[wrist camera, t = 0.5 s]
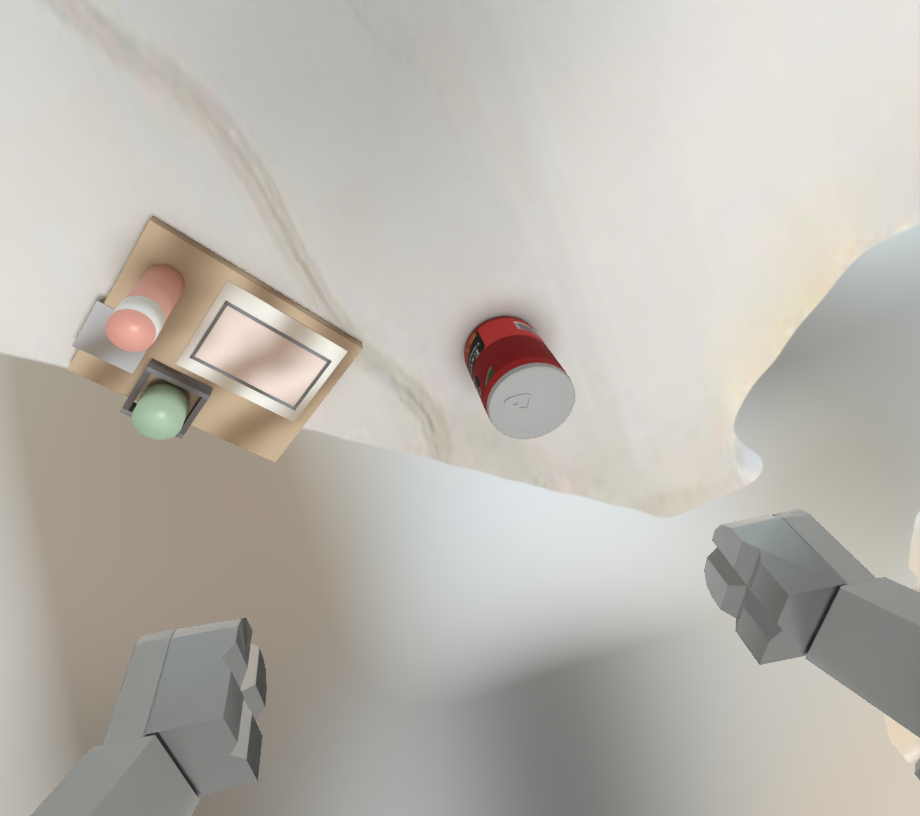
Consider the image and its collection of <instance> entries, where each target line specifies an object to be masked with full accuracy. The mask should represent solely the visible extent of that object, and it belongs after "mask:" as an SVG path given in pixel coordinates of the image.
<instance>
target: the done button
mask: <svg viewBox="0 0 920 816" xmlns="http://www.w3.org/2000/svg"><path fill="white" fill-rule="evenodd" d="M188 410H189V400H188V397H187V396H186V394H185V393H184V392H183V391H182V390H180V389H179V388H177V387H175V386H173V385H169V384H155V385H152V386H150V387H148V388H147V389H146V390H145V391H144V392H143V394H142V396H141V397H140V399H139V401H138V403H137V405H136V407H135V409H134V411H133V413H132V417H131V418H132V423H133V425H134V427H135V428H136V430H137V431H138V432H140V433H141V434H142V435H144V436H146V437H149V438H152V439H159V440H162V439H169V438H172V437H174V436H175V435H177V434H178V433H179V432H180V430H181V428H182V426H183V423H184V420H185V418H186V415H187V413H188Z"/></svg>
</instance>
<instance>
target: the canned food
mask: <svg viewBox="0 0 920 816" xmlns="http://www.w3.org/2000/svg"><path fill="white" fill-rule="evenodd" d="M465 361H466V365H467V368H468V370H469V373H470V375H471V377H472V380H473V382H474V384H475V387H476V389H477V392H478V394H479V396H480V399H481V401H482V403H483V406H484V408H485V410H486V412H487V414H488V417H489V419H490V420H491V422H492V423H493V425H494V426H495V428H496V429H497V430H498V431H500V432H501V433H503V434H504V435H506V436H509V437H511V438H516V439H531V438H537V437H540V436H543V435H545V434H548V433H550V432H551V431H553V430H555V429H556V428H558V427H559V426H560V425H561V424H562V423H563V422H564V421H565V420H566V419H567V417H568V416H569V414H570V413H571V411H572V409H573V406H574V403H575V390H574V386H573V384H572V382H571V380H570V378H569V376H568V375H567V374H566V372H565V371H564V369H563V368H562V367H561V365H560V364H559V362H558V361H557V360H556V358H555V357H554V356H553V354H552V353H551V352H550V350H549V349H548V348H547V346H546V345H545V344H544V342H543V341H542V340H541V338H540V337H539V336H538V334H537V333H536V331H535V330H534V329H533V328H532V327H531V326H530V325H529V324H528V323H526V322H524V321H522V320H519V319H516V318H512V317H498V318H494V319H491V320H489V321H487V322H485V323H483V324H482V325H480V326H479V327H478V328H477V329H476V330H475V331H474V332H473V333H472V335H471V336H470V337H469V340H468V342H467V345H466V350H465Z"/></svg>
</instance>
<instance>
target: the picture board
mask: <svg viewBox="0 0 920 816" xmlns="http://www.w3.org/2000/svg"><path fill="white" fill-rule="evenodd" d="M157 264H166V265H169V266H172V267H174V268H175V269H177V270H178V271H179V272H180V273H181V275H182V276H183V278H184V281H185V288H184V291H183V292H182V294H181V296H180V297H179V299H178V301H177V303H176V304H175V306H174V308H173V309H172V311H171V313H170V314H169V316H168V318H167V319H166V321H165V324H164V326H163V328H162V329H161V331H160V333H159V334H158V336H157V338H156V340H155V341H154V343H153V344H152V345H151V346H150V347H149V348H147V349H146V350H143V351H139V352H130V351H125V350H123V349H120V348H119V347H117V346H115V345H114V344H113V343H112V342H111V341H110V340H109V338H108V337H107V334H106V331H105V325H106V322H107V320H108V318H109V316H110V315H111V314H112V312H113V311H114V310H115V309H116V307H117V306H118V305H119V304H120V303H121V301H122V300H123V299H125V298H126V296H127V295H128V294H129V293H130V291H131V290H132V289H133V288H134V286H135V285H136V284H137V283H138V281H139V280H140V279H141V278H142V277H143V275H144V274H145V273H146V272H147V270H148V269H149V268H150V267H152V266H154V265H157ZM72 346H74V347H76V348H78V351H77V353H76V354H75V356H74V358H73V360H72V362H71V364H70V365H69V367H68V369H67V370H69V371H72V372H74V373H76V374H78V375H81V376H83V377H85V378H87V379H90V380H92V381H94V382H97V383H99V384H101V385H103V386H105V387H108V388H110V389H112V390H114V391H116V392H119V393H121V394H123V395H126V396H128V399H127V401H126V402H125V404H124V406H123V408H122V409H121V411H120V412H121V413H124V414H126V415H128V416H131V417H132V413H133V411H134V409H135V407H136V405H137V403H134V400H137V401H139V399H140V397H141V396H142V394H143V392H144V391H145V390H146V389H147V388H148V387H150V386H152V385H155V384H169V385H173V386H175V387H177V388H179V389H180V390H182V391H183V392H184V393H185V394H186V396H187V397H188V400H189V410H188V413H187V415H186V418H185V420H184V423H183V426H182V428H181V430H180V432H179V433H178V434H177V435H175V436H177V437H179V438H182V437H183V435H184V434H185V433H186V431H187V429H188V428H189V426H190V425H193V426H195V427H197V428H199V429H201V430H204V431H206V432H208V433H210V434H213V435H215V436H217V437H219V438H222V439H224V440H226V441H228V442H231V443H233V444H235V445H237V446H240V447H242V448H244V449H246V450H249V451H251V452H253V453H255V454H257V455H260V456H262V457H264V458H266V459H269V460H271V461H273V462H276V461H277V460H278V458H279V457H280V456H281V454H282V453H283V452H284V450H285V449H286V448H287V446H288V445H289V444H290V443H291V441H292V440H293V439H294V437H295V436H296V435H297V434H298V432H299V431H300V430H301V428H302V427H303V426H304V424H305V423H306V422H307V420H308V419H309V418H310V417H311V415H312V414H313V413H314V411H315V410H316V409H317V407H318V406H319V405H320V403H321V402H322V401H323V400H324V398H325V397H326V396H327V394H328V393H329V392H330V390H331V389H332V388H333V387H334V385H335V384H336V383H337V381H338V380H339V379H340V377H341V376H342V375H343V373H344V372H345V371H346V370H347V368H348V367H349V366H350V364H351V363H352V362H353V360H354V359H355V358H356V356H357V355H358V354H359V353H360V351H361V350H362V349H363V347H362V343H361V342H360V341H358V340H356V339H355V338H353V337H351V336H350V335H348V334H347V333H345V332H343V331H342V330H340V329H338V328H337V327H335V326H333V325H332V324H330V323H328V322H327V321H325V320H324V319H322V318H320V317H319V316H317V315H315V314H314V313H312V312H310V311H309V310H307V309H305V308H304V307H302V306H300V305H299V304H297V303H296V302H294V301H292V300H291V299H289V298H287V297H286V296H284V295H282V294H281V293H279V292H277V291H276V290H274V289H273V288H271V287H269V286H268V285H266V284H264V283H263V282H261V281H259V280H258V279H256V278H254V277H253V276H251V275H249V274H248V273H246V272H245V271H243V270H241V269H240V268H238V267H236V266H235V265H233V264H231V263H230V262H228V261H226V260H225V259H223V258H222V257H220V256H218V255H217V254H215V253H213V252H212V251H210V250H208V249H207V248H205V247H203V246H202V245H200V244H198V243H197V242H195V241H194V240H192V239H190V238H189V237H187V236H185V235H184V234H182V233H180V232H179V231H177V230H175V229H174V228H172V227H171V226H169V225H167V224H166V223H164V222H162V221H161V220H159V219H157V218H156V217H154V216H153V217H152V218H151V219H150V220H149V222H148V224H147V226H146V227H145V229H144V231H143V233H142V235H141V236H140V238H139V240H138V242H137V244H136V245H135V247H134V249H133V251H132V253H131V255H130V256H129V258H128V260H127V262H126V264H125V265H124V267H123V269H122V271H121V273H120V275H119V276H118V278H117V280H116V282H115V284H114V285H113V287H112V289H111V291H110V293H109V295H108V296H107V298H106V300H105V302H104V303H102V302H100V301H98V300H97V301H96V303H95V305H94V307H93V309H92V310H91V312H90V314H89V316H88V318H87V320H86V321H85V323H84V325H83V327H82V329H81V331H80V332H79V334H78V336H77V338H76V340H75V342H74V343H73V345H72Z"/></svg>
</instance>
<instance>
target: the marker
mask: <svg viewBox="0 0 920 816" xmlns="http://www.w3.org/2000/svg"><path fill="white" fill-rule="evenodd" d="M184 288H185V281H184V278H183V276H182V275H181V273H180V272H179V271H178V270H177V269H175V268H174V267H172V266H169V265H166V264H157V265H154V266H152V267H150V268H149V269H148V270H147V272H146V273H145V274H144V275H143V277H142V278H141V279H140V280H139V281H138V283H137V284H136V285H135V286H134V288H133V289H132V290H131V291H130V293H129V294H128V295H127V296H126V298H125V299H123V300H122V301H121V303H120V304H119V305H118V306H117V307H116V309H115V310H114V311H113V312H112V314H111V315H110V316H109V318H108V320H107V322H106V325H105V331H106V334H107V337H108V338H109V340H110V341H111V342H112V343H113V344H114V345H115V346H117V347H119V348H120V349H123V350H125V351H130V352H139V351H143V350H146V349H147V348H149V347H150V346H151V345H152V344H153V343H154V341H155V340H156V338H157V336H158V334H159V333H160V331H161V329H162V328H163V326H164V324H165V321H166V319H167V318H168V316H169V314H170V313H171V311H172V309H173V308H174V306H175V304H176V303H177V301H178V299H179V297H180V296H181V294H182V292H183V291H184Z"/></svg>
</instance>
